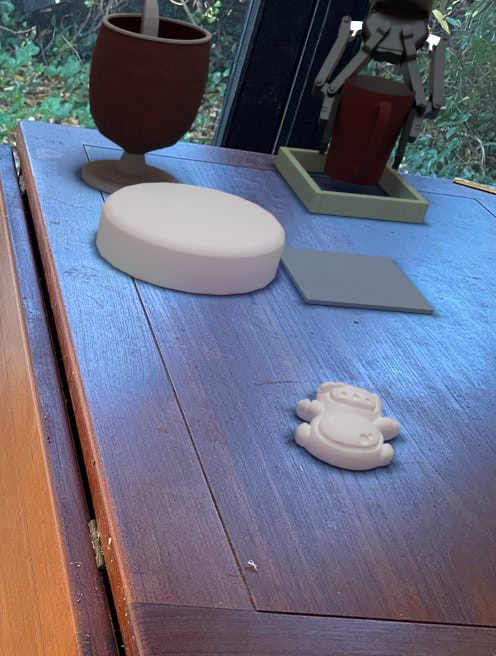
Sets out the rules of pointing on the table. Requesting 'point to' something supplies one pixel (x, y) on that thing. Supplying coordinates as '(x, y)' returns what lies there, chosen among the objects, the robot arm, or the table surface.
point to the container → (190, 238)
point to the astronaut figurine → (346, 427)
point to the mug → (366, 128)
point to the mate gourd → (144, 91)
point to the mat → (352, 281)
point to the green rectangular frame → (397, 208)
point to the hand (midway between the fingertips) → (360, 155)
